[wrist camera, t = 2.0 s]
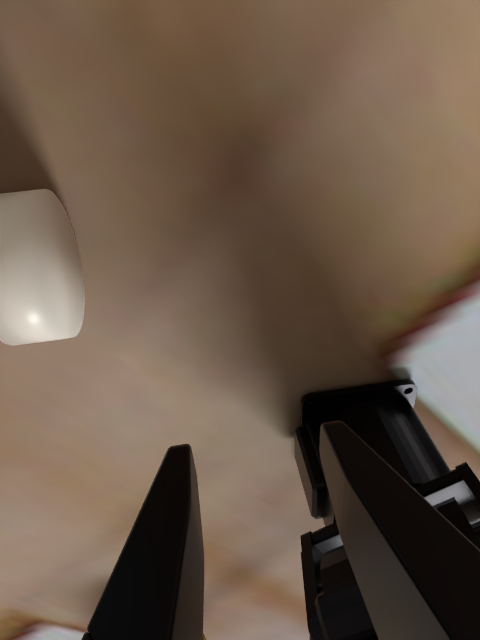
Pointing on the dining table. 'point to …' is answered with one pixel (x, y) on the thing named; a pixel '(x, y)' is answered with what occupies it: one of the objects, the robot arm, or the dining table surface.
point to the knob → (38, 270)
